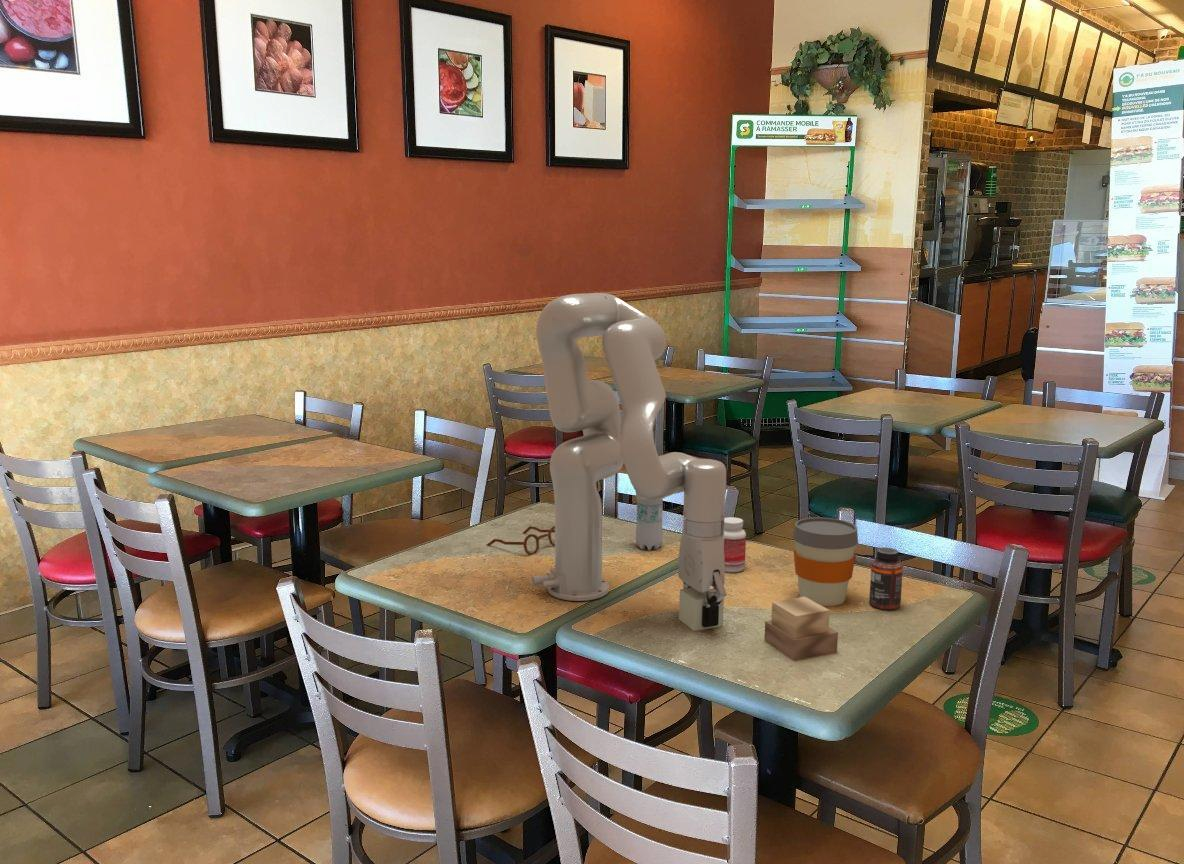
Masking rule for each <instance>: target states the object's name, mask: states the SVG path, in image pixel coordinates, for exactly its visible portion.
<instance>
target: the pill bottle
mask: <svg viewBox="0 0 1184 864" xmlns="http://www.w3.org/2000/svg"><path fill="white" fill-rule="evenodd" d="M743 526H744V520H743V519H742V518H739V517H731V516H729V517H725V520H724V536H723V537H722V538H723V543H724V555H725V573H739V572H742V571H744V570H745V567H746V549H747V547H746V544H747V542H746V541H747V539H746V538H747V533H746V531H745V530H744V529H743Z"/></svg>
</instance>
